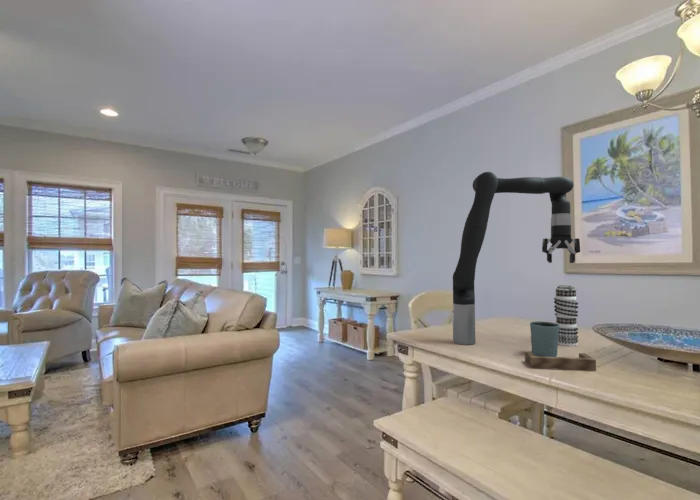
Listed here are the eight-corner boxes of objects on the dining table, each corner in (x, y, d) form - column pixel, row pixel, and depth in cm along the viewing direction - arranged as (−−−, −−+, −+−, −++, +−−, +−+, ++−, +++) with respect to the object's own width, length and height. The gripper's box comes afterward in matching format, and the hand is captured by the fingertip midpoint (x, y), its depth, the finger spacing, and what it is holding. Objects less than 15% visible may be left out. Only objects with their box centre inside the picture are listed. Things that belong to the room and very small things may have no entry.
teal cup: (530, 350, 149) (530, 320, 150) (559, 352, 145) (558, 322, 145) (530, 356, 140) (530, 325, 140) (561, 359, 136) (560, 327, 136)
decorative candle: (550, 340, 164) (549, 284, 165) (571, 340, 164) (570, 284, 164) (561, 346, 155) (560, 286, 156) (583, 346, 155) (582, 286, 155)
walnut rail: (531, 367, 127) (531, 357, 127) (525, 361, 135) (524, 351, 135) (596, 370, 123) (595, 359, 123) (585, 363, 131) (585, 353, 131)
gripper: (546, 224, 155) (546, 262, 155) (583, 224, 153) (583, 263, 153) (539, 225, 163) (539, 262, 162) (575, 225, 160) (575, 262, 160)
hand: (560, 262), depth 158 cm, fingers open, 8 cm apart
